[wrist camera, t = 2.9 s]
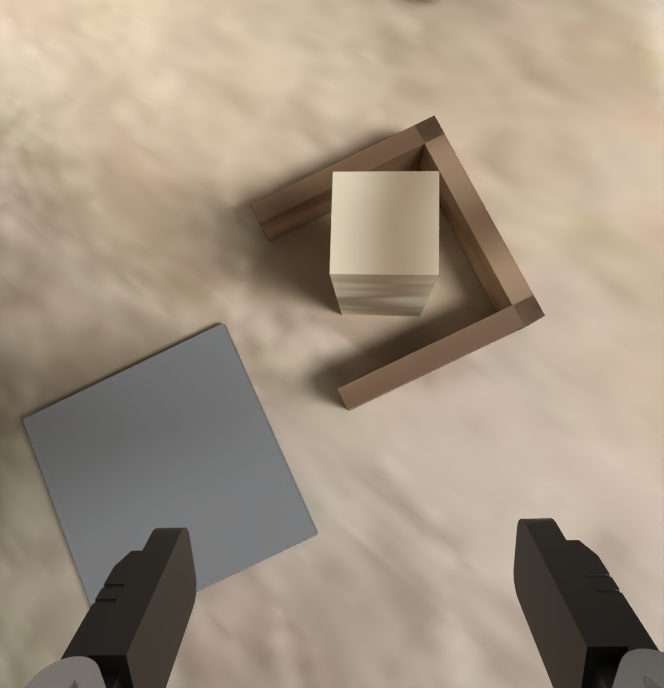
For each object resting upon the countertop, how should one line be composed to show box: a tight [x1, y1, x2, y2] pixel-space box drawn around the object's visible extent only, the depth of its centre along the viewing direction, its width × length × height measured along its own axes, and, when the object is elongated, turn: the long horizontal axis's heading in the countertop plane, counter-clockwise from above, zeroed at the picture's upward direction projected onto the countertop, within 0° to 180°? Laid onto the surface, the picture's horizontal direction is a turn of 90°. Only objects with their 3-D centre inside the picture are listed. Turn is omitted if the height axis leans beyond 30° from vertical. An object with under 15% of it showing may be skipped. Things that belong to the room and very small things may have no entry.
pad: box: [22, 323, 318, 606], centre depth 30 cm, size 13×13×1 cm
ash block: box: [330, 171, 439, 316], centre depth 27 cm, size 4×4×9 cm
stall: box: [250, 116, 545, 411], centre depth 29 cm, size 12×11×3 cm
